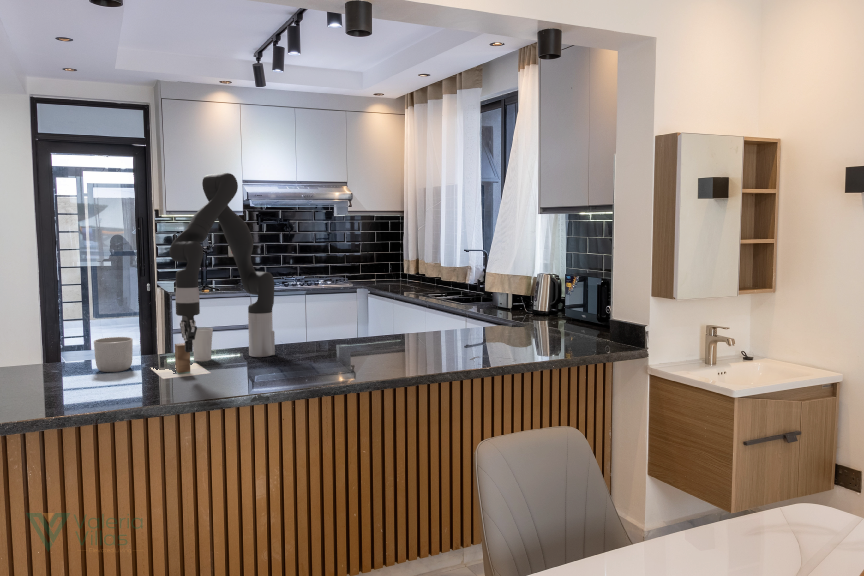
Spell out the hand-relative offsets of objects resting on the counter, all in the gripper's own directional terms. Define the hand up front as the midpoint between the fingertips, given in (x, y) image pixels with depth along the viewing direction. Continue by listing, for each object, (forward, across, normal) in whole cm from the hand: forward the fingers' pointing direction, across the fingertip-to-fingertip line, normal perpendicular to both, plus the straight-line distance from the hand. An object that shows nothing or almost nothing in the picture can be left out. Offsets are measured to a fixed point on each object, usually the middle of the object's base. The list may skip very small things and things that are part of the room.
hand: (188, 351), depth 224 cm
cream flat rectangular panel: (+9, +13, 0) cm, 16 cm away
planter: (+9, +27, +19) cm, 34 cm away
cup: (+9, +28, -12) cm, 32 cm away
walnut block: (+9, +9, 0) cm, 13 cm away
